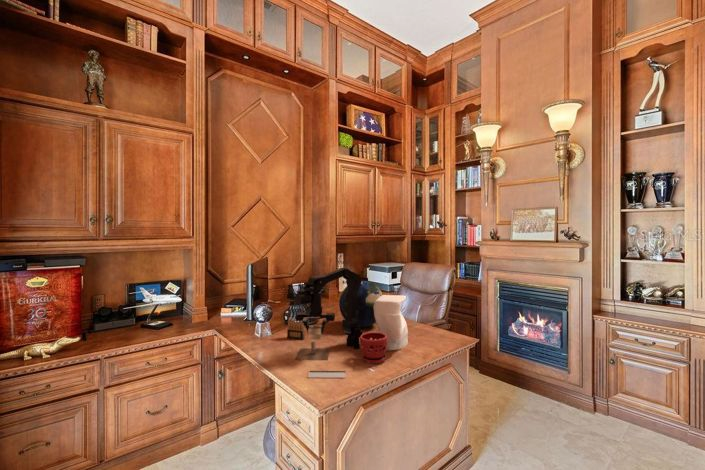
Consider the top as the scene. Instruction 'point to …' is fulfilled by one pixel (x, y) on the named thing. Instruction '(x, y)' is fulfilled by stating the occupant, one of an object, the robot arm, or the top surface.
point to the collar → (315, 332)
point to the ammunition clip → (295, 330)
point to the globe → (362, 303)
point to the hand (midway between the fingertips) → (315, 334)
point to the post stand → (313, 353)
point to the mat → (326, 374)
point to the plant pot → (373, 347)
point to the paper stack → (391, 320)
